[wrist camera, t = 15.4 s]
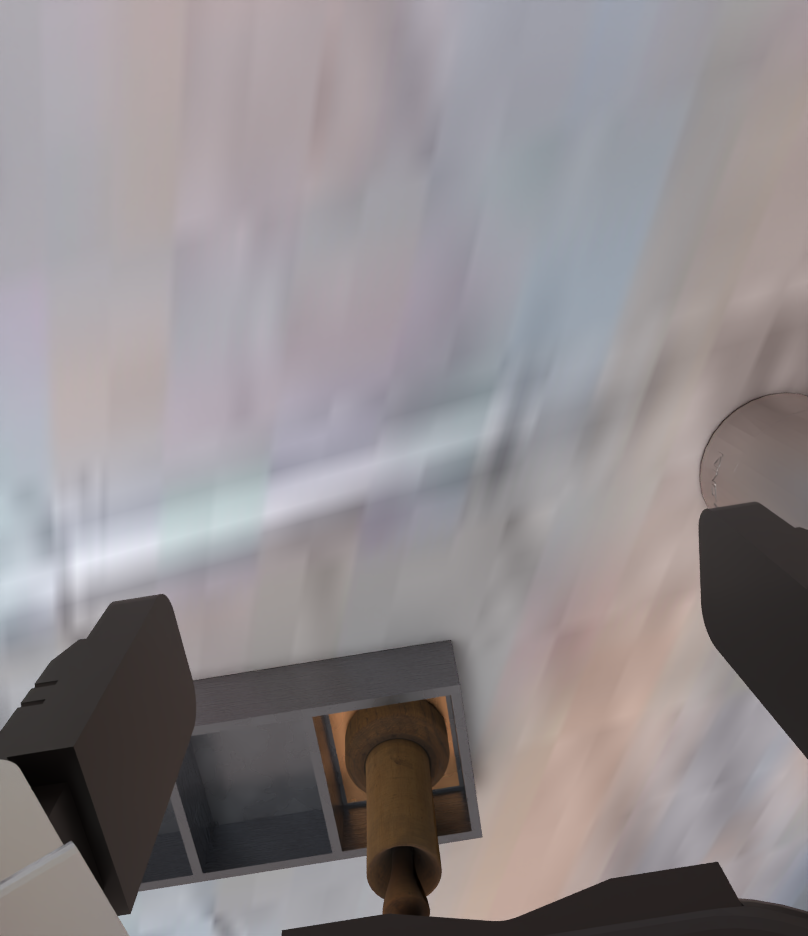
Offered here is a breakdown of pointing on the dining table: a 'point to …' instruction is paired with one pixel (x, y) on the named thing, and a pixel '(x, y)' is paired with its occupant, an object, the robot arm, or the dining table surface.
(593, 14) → the dining table surface
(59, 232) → the dining table surface
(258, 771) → the rack
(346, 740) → the brown turned rounded post
